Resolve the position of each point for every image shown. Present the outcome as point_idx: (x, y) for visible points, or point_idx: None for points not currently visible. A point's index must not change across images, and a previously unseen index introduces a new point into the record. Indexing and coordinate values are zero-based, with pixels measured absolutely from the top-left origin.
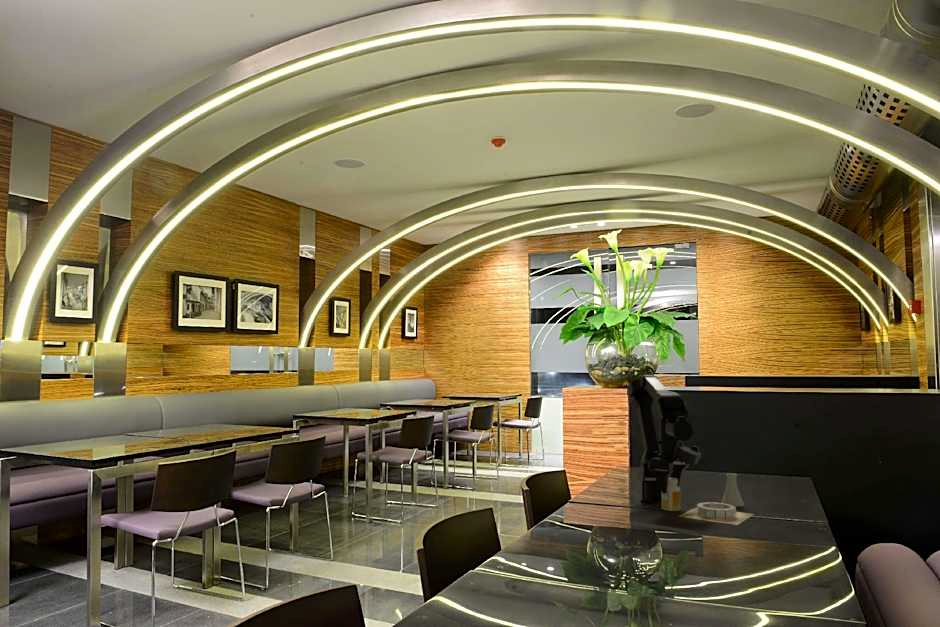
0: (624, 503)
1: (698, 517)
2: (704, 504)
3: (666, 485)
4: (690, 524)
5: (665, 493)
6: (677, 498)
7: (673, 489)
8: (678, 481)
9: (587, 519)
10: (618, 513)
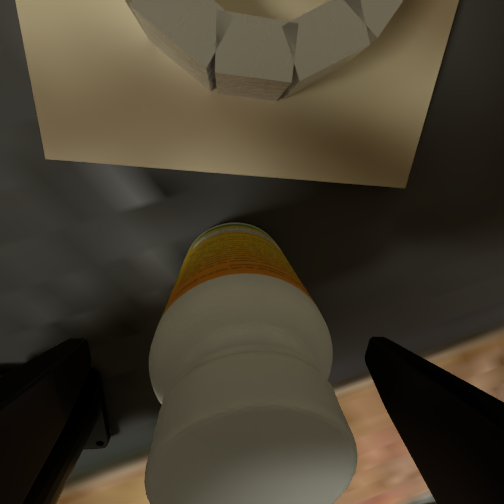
0: None
1: (395, 57)
2: (231, 15)
3: (474, 386)
4: (471, 93)
5: (379, 339)
6: (276, 258)
7: (322, 321)
8: (27, 398)
9: None
10: (366, 409)
